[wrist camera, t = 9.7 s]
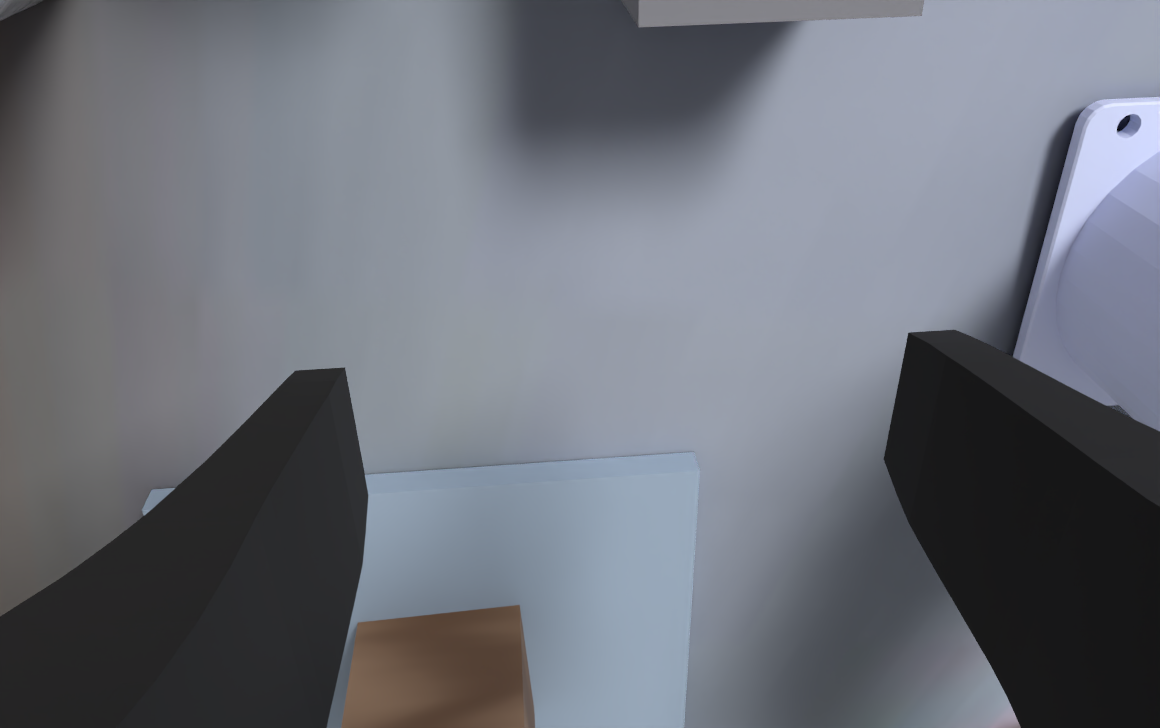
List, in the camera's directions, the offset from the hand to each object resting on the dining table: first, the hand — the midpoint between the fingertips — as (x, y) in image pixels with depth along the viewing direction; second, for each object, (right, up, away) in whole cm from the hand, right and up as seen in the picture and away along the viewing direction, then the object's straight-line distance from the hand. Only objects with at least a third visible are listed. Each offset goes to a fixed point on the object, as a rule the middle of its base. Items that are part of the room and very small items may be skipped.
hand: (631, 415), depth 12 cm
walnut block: (-4, -8, +15) cm, 17 cm away
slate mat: (-4, -8, +16) cm, 18 cm away
